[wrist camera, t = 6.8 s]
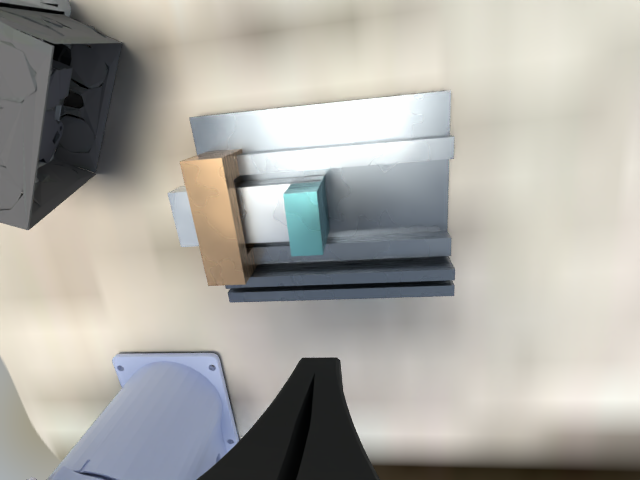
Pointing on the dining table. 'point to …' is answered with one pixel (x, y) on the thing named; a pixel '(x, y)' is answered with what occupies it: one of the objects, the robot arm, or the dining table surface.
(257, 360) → the dining table surface
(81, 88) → the electrical switch
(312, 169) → the base
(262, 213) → the white and teal block
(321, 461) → the robot arm
